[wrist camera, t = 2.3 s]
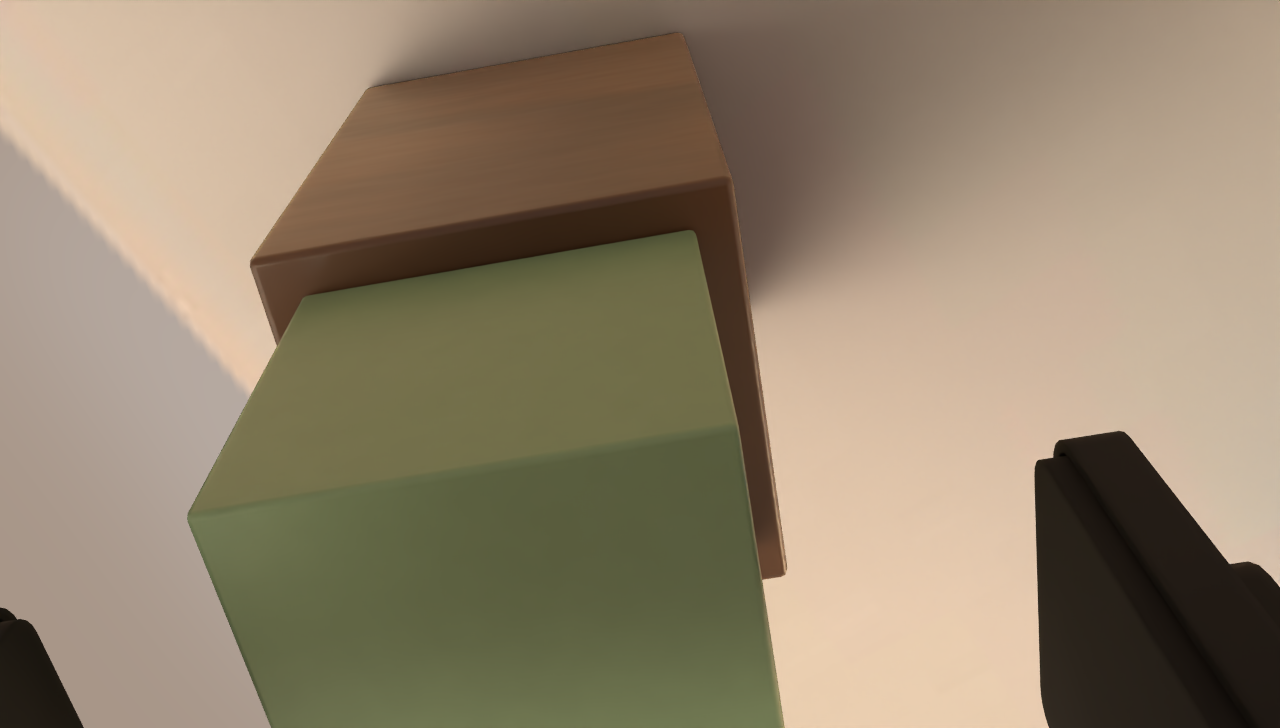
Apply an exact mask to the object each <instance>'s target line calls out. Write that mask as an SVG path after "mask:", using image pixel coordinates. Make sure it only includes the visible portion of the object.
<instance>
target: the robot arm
mask: <svg viewBox="0 0 1280 728" xmlns="http://www.w3.org/2000/svg"><path fill="white" fill-rule="evenodd" d="M1035 511H1036V546H1037V581H1038V616H1039V651H1040V686H1041V697H1042V703H1043V708H1044V712H1045V716H1046V720H1047V723H1048V726H1049V728H1280V587H1279V586H1278V584H1277V583H1276V582H1275V581H1274V580H1273V578H1272V577H1271V576H1270V575H1269V574H1268V573H1267V572H1266V571H1265V570H1264V569H1262V568H1261V567H1260V566H1259V565H1257V564H1254V563H1251V562H1242V563H1235V564H1229V563H1228V562H1227V561H1226V559H1225V558H1224V557H1223V556H1222V554H1221V553H1220V552H1219V550H1218V549H1217V548H1216V547H1215V545H1214V544H1213V543H1212V542H1211V540H1210V539H1209V538H1208V536H1207V535H1206V534H1205V533H1204V531H1203V530H1202V529H1201V527H1200V526H1199V525H1198V524H1197V522H1196V521H1195V520H1194V518H1193V517H1192V516H1191V515H1190V513H1189V512H1188V511H1187V510H1186V508H1185V507H1184V506H1183V504H1182V503H1181V502H1180V501H1179V499H1178V498H1177V497H1176V495H1175V494H1174V493H1173V492H1172V490H1171V489H1170V488H1169V487H1168V485H1167V484H1166V483H1165V481H1164V480H1163V479H1162V478H1161V476H1160V475H1159V474H1158V472H1157V471H1156V470H1155V469H1154V467H1153V466H1152V465H1151V464H1150V462H1149V461H1148V460H1147V458H1146V457H1145V456H1144V455H1143V453H1142V452H1141V451H1140V449H1139V448H1138V447H1137V446H1136V444H1135V443H1134V442H1133V441H1132V439H1131V438H1130V437H1129V436H1128V435H1127V434H1126V433H1125V432H1122V431H1116V432H1110V433H1103V434H1097V435H1091V436H1084V437H1078V438H1071V439H1065V440H1059V441H1058V442H1057V443H1056V445H1055V448H1054V454H1053V458H1048V459H1042V460H1038V461H1037V462H1036V466H1035ZM0 728H84V727H83V725H82V723H81V721H80V719H79V717H78V715H77V713H76V711H75V709H74V707H73V705H72V703H71V701H70V699H69V697H68V695H67V693H66V691H65V689H64V687H63V685H62V683H61V681H60V679H59V676H58V675H57V672H56V671H55V668H54V666H53V664H52V662H51V660H50V658H49V656H48V654H47V652H46V650H45V648H44V646H43V644H42V642H41V640H40V638H39V636H38V634H37V632H36V630H35V629H34V627H33V626H32V624H30V623H29V622H28V621H26V620H22V619H18V620H17V619H16V617H15V616H14V615H13V614H12V613H11V612H10V611H8V610H7V609H5V608H0Z"/></svg>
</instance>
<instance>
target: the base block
mask: <svg viewBox="0 0 1280 728" xmlns="http://www.w3.org/2000/svg"><path fill="white" fill-rule="evenodd" d="M686 230H692V231H694V232H695V234H696V237H697V241H698V246H699V250H700V255H701V259H702V264H703V268H704V273H705V277H706V282H707V286H708V291H709V295H710V300H711V304H712V309H713V313H714V318H715V322H716V327H717V331H718V336H719V340H720V345H721V349H722V354H723V358H724V363H725V367H726V372H727V377H728V381H729V386H730V390H731V395H732V399H733V404H734V408H735V413H736V417H737V422H738V426H739V432H740V438H741V445H742V451H743V458H744V464H745V471H746V478H747V484H748V491H749V497H750V504H751V510H752V517H753V524H754V530H755V537H756V543H757V550H758V556H759V563H760V570H761V576H762V580H763V579H769V578H776V577H781V576H783V575H785V573H786V570H787V563H786V556H785V549H784V541H783V534H782V527H781V520H780V513H779V506H778V498H777V491H776V484H775V477H774V470H773V463H772V456H771V448H770V441H769V434H768V427H767V420H766V413H765V406H764V398H763V391H762V384H761V377H760V370H759V363H758V356H757V348H756V341H755V334H754V327H753V320H752V313H751V306H750V298H749V291H748V284H747V277H746V270H745V263H744V256H743V248H742V241H741V234H740V227H739V220H738V213H737V206H736V198H735V191H734V184H733V180H732V177H731V174H730V171H729V168H728V165H727V162H726V159H725V156H724V153H723V150H722V147H721V145H720V142H719V139H718V136H717V133H716V130H715V127H714V124H713V121H712V118H711V115H710V112H709V109H708V106H707V103H706V100H705V97H704V94H703V91H702V88H701V85H700V82H699V79H698V76H697V73H696V70H695V67H694V65H693V62H692V59H691V56H690V53H689V50H688V47H687V44H686V41H685V38H684V36H683V34H682V33H673V34H667V35H662V36H656V37H650V38H645V39H639V40H634V41H628V42H623V43H617V44H611V45H606V46H600V47H595V48H589V49H583V50H578V51H572V52H567V53H561V54H556V55H550V56H544V57H539V58H533V59H528V60H522V61H517V62H511V63H505V64H500V65H494V66H489V67H483V68H478V69H472V70H466V71H461V72H455V73H450V74H444V75H439V76H433V77H427V78H422V79H416V80H411V81H405V82H399V83H394V84H388V85H383V86H377V87H372V88H368V89H367V90H366V91H365V92H364V94H363V95H362V97H361V98H360V100H359V101H358V103H357V104H356V105H355V107H354V108H353V110H352V111H351V113H350V114H349V116H348V117H347V119H346V120H345V122H344V123H343V125H342V126H341V128H340V129H339V131H338V132H337V133H336V135H335V136H334V138H333V139H332V141H331V142H330V144H329V145H328V147H327V148H326V150H325V151H324V153H323V154H322V156H321V157H320V159H319V160H318V161H317V163H316V164H315V166H314V167H313V169H312V170H311V172H310V173H309V175H308V176H307V178H306V179H305V181H304V182H303V184H302V185H301V187H300V188H299V189H298V191H297V192H296V194H295V195H294V197H293V198H292V200H291V201H290V203H289V204H288V206H287V207H286V209H285V210H284V212H283V213H282V215H281V216H280V217H279V219H278V220H277V222H276V223H275V225H274V226H273V228H272V229H271V231H270V232H269V234H268V235H267V237H266V238H265V240H264V241H263V243H262V244H261V245H260V247H259V248H258V250H257V251H256V253H255V254H254V256H253V257H252V259H251V261H250V268H251V270H252V273H253V276H254V279H255V282H256V285H257V288H258V291H259V294H260V297H261V300H262V303H263V306H264V309H265V312H266V315H267V318H268V321H269V324H270V327H271V330H272V332H273V335H274V338H275V341H276V344H277V346H278V344H279V342H280V340H281V338H282V336H283V334H284V332H285V331H286V329H287V327H288V325H289V323H290V321H291V319H292V317H293V316H294V314H295V312H296V310H297V308H298V306H299V304H300V302H301V301H302V299H303V298H304V297H305V296H309V295H314V294H320V293H326V292H332V291H338V290H343V289H349V288H355V287H361V286H367V285H372V284H378V283H384V282H390V281H396V280H401V279H407V278H413V277H419V276H425V275H430V274H436V273H442V272H448V271H454V270H459V269H465V268H471V267H477V266H483V265H488V264H494V263H500V262H506V261H512V260H517V259H523V258H529V257H535V256H541V255H546V254H552V253H558V252H564V251H570V250H575V249H581V248H587V247H593V246H599V245H604V244H610V243H616V242H622V241H628V240H634V239H639V238H645V237H651V236H657V235H663V234H668V233H674V232H680V231H686Z"/></svg>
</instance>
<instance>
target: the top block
mask: <svg viewBox="0 0 1280 728" xmlns="http://www.w3.org/2000/svg"><path fill="white" fill-rule="evenodd" d="M187 520H188V523H189V526H190V528H191V531H192V533H193V536H194V538H195V541H196V543H197V546H198V548H199V550H200V553H201V555H202V558H203V560H204V563H205V565H206V568H207V570H208V572H209V575H210V578H211V580H212V583H213V585H214V587H215V590H216V592H217V595H218V597H219V600H220V602H221V605H222V607H223V609H224V612H225V615H226V617H227V619H228V622H229V625H230V627H231V629H232V632H233V634H234V637H235V639H236V642H237V644H238V646H239V649H240V651H241V654H242V657H243V659H244V662H245V664H246V666H247V669H248V671H249V674H250V676H251V679H252V681H253V684H254V686H255V688H256V691H257V693H258V696H259V699H260V701H261V703H262V706H263V708H264V711H265V713H266V715H267V718H268V720H269V723H270V725H271V728H785V727H784V721H783V714H782V707H781V701H780V694H779V688H778V681H777V675H776V668H775V661H774V655H773V648H772V642H771V635H770V629H769V622H768V616H767V609H766V602H765V596H764V589H763V583H762V576H761V570H760V563H759V556H758V550H757V543H756V537H755V530H754V524H753V517H752V510H751V504H750V497H749V491H748V484H747V478H746V471H745V464H744V458H743V451H742V445H741V438H740V432H739V426H738V422H737V417H736V413H735V408H734V404H733V399H732V395H731V390H730V386H729V381H728V377H727V372H726V367H725V363H724V358H723V354H722V349H721V345H720V340H719V336H718V331H717V327H716V322H715V318H714V313H713V309H712V304H711V300H710V295H709V291H708V286H707V282H706V277H705V273H704V268H703V264H702V259H701V255H700V250H699V246H698V241H697V237H696V234H695V232H694V231H692V230H686V231H680V232H674V233H668V234H663V235H657V236H651V237H645V238H639V239H634V240H628V241H622V242H616V243H610V244H604V245H599V246H593V247H587V248H581V249H575V250H570V251H564V252H558V253H552V254H546V255H541V256H535V257H529V258H523V259H517V260H512V261H506V262H500V263H494V264H488V265H483V266H477V267H471V268H465V269H459V270H454V271H448V272H442V273H436V274H430V275H425V276H419V277H413V278H407V279H401V280H396V281H390V282H384V283H378V284H372V285H367V286H361V287H355V288H349V289H343V290H338V291H332V292H326V293H320V294H314V295H309V296H305V297H304V298H303V299H302V301H301V302H300V304H299V306H298V308H297V310H296V312H295V314H294V316H293V317H292V319H291V321H290V323H289V325H288V327H287V329H286V331H285V332H284V334H283V336H282V338H281V340H280V342H279V344H278V346H277V347H276V349H275V351H274V353H273V355H272V357H271V359H270V361H269V362H268V364H267V366H266V368H265V370H264V372H263V374H262V376H261V377H260V379H259V381H258V383H257V385H256V387H255V389H254V391H253V392H252V394H251V396H250V398H249V400H248V402H247V404H246V406H245V407H244V409H243V411H242V413H241V415H240V417H239V419H238V421H237V422H236V424H235V426H234V428H233V430H232V432H231V434H230V435H229V438H228V439H227V441H226V443H225V445H224V447H223V449H222V450H221V452H220V454H219V456H218V458H217V460H216V462H215V464H214V465H213V467H212V469H211V471H210V473H209V475H208V477H207V479H206V481H205V482H204V484H203V486H202V488H201V490H200V492H199V494H198V495H197V497H196V499H195V501H194V503H193V505H192V507H191V509H190V510H189V512H188V517H187Z"/></svg>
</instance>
